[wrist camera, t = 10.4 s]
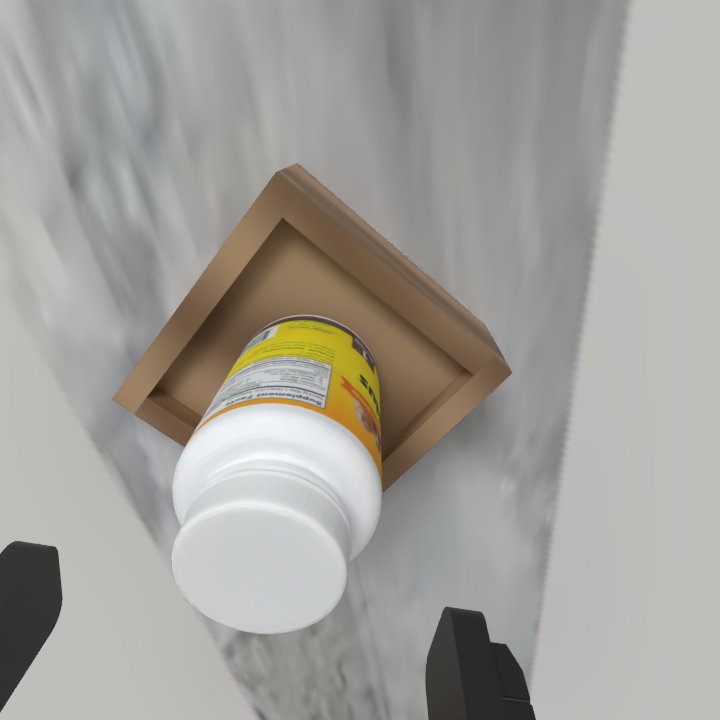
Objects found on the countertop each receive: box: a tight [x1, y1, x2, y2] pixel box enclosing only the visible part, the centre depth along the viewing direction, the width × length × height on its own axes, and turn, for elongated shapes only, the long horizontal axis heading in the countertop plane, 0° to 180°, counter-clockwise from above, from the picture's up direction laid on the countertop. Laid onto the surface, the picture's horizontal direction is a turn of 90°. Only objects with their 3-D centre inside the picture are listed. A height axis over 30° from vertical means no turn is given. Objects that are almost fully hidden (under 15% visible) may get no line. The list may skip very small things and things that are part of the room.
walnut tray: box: [112, 163, 512, 493], centre depth 22 cm, size 11×11×5 cm
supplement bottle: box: [171, 315, 383, 634], centre depth 16 cm, size 6×6×10 cm
